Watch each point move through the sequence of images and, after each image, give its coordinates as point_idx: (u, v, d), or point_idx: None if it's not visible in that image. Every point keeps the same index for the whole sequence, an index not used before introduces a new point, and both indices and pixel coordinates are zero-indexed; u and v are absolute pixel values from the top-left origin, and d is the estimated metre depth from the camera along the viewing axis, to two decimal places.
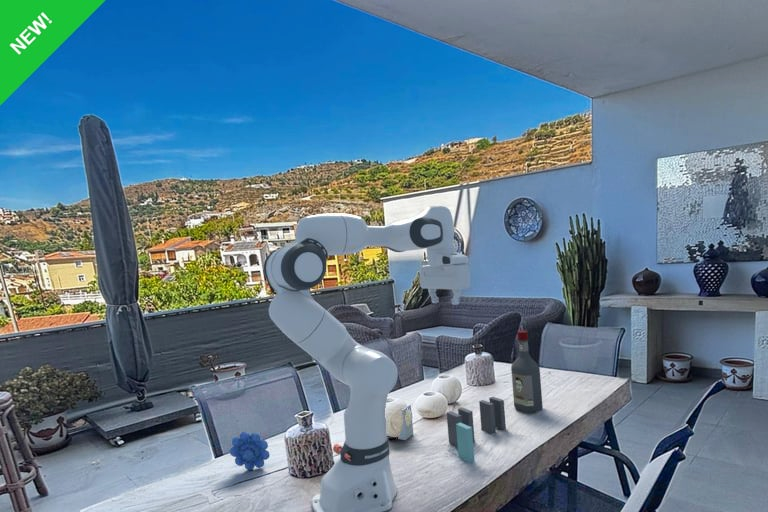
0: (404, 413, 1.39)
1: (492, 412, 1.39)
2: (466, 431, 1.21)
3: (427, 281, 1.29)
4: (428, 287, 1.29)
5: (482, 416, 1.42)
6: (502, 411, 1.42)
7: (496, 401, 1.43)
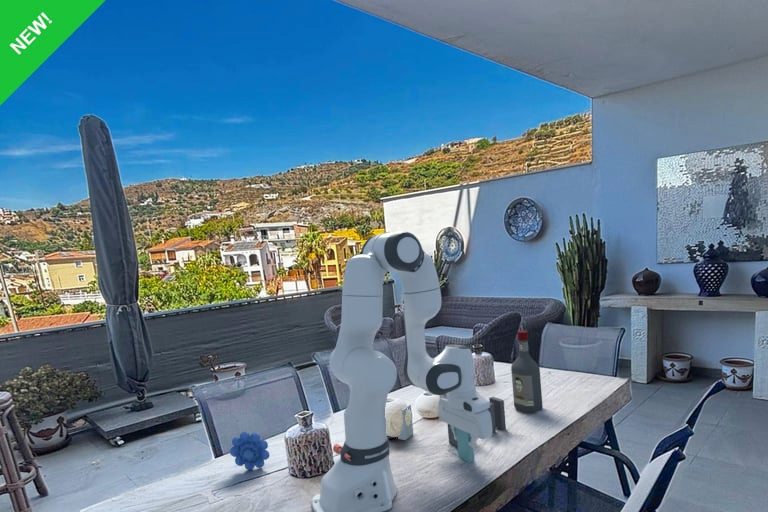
0: (404, 413, 1.39)
1: (492, 412, 1.39)
2: None
3: (447, 416, 1.27)
4: (447, 422, 1.27)
5: None
6: (502, 411, 1.42)
7: (496, 401, 1.43)
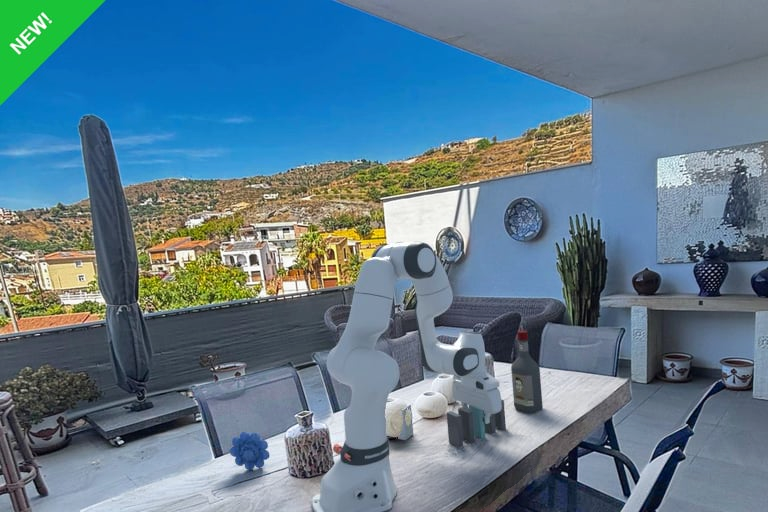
0: (404, 413, 1.39)
1: None
2: (478, 410, 1.36)
3: (460, 395, 1.42)
4: (461, 401, 1.42)
5: None
6: (502, 411, 1.42)
7: None
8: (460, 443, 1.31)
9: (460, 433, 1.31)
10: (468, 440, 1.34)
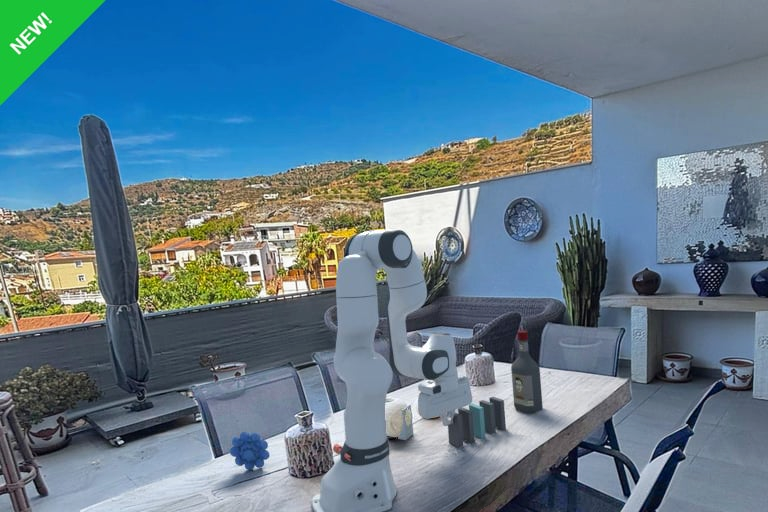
0: (404, 413, 1.39)
1: (492, 412, 1.39)
2: (478, 410, 1.36)
3: None
4: None
5: None
6: (502, 411, 1.42)
7: (496, 401, 1.43)
8: (460, 443, 1.31)
9: (460, 433, 1.31)
10: (468, 440, 1.34)
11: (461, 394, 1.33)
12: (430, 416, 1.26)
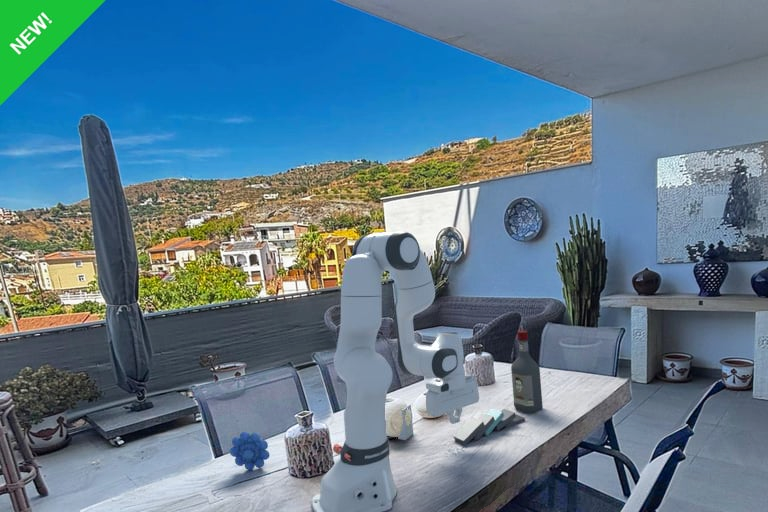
0: (404, 413, 1.39)
1: (510, 418, 1.44)
2: (499, 413, 1.42)
3: None
4: None
5: None
6: (518, 422, 1.46)
7: (520, 416, 1.49)
8: (466, 439, 1.32)
9: (473, 434, 1.34)
10: None
11: (468, 392, 1.35)
12: (438, 414, 1.28)
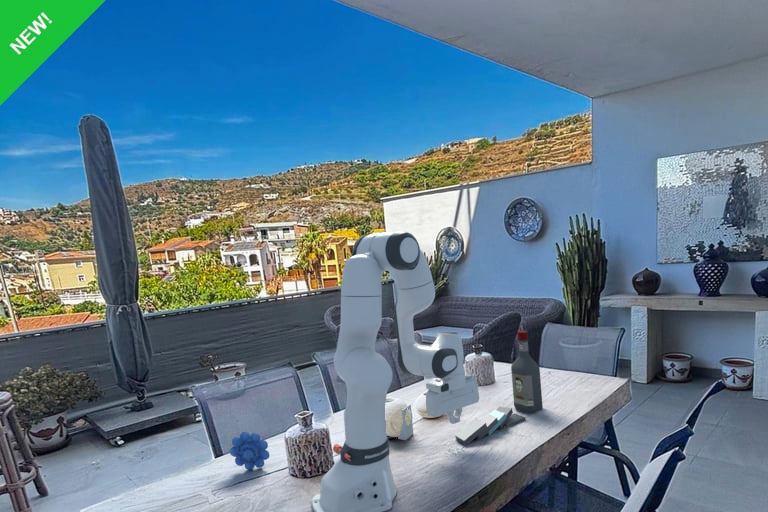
0: (404, 413, 1.39)
1: (509, 414, 1.47)
2: (502, 414, 1.43)
3: None
4: None
5: None
6: (518, 422, 1.46)
7: (520, 416, 1.49)
8: (467, 439, 1.32)
9: (474, 435, 1.34)
10: None
11: (468, 392, 1.35)
12: (438, 414, 1.28)
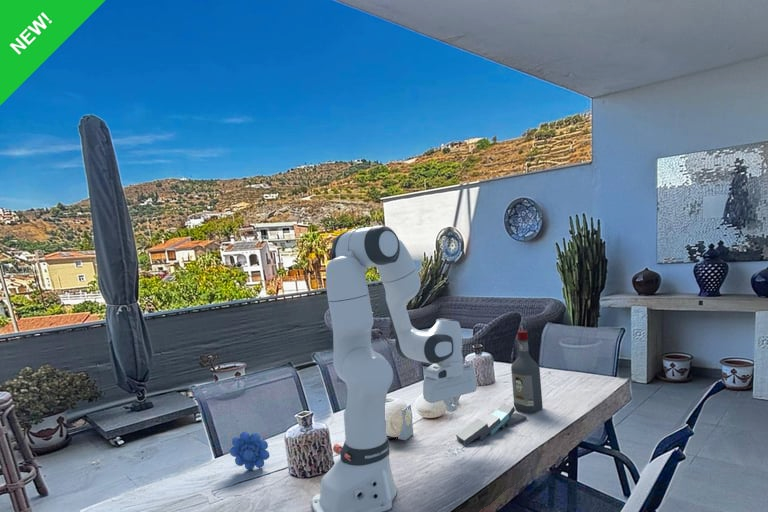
0: (404, 413, 1.39)
1: (511, 412, 1.47)
2: (505, 414, 1.43)
3: None
4: None
5: None
6: (520, 421, 1.47)
7: (521, 415, 1.50)
8: (467, 439, 1.32)
9: (475, 435, 1.34)
10: None
11: (466, 381, 1.34)
12: (435, 400, 1.27)
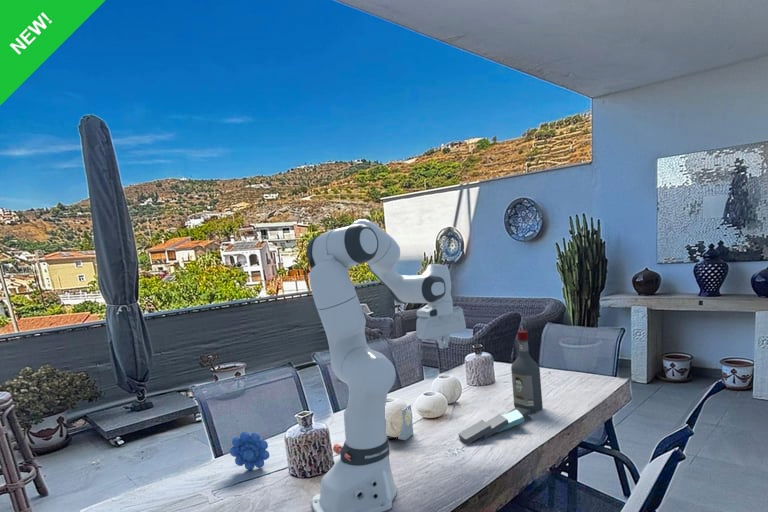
0: (404, 413, 1.39)
1: (526, 414, 1.49)
2: (520, 416, 1.41)
3: None
4: None
5: None
6: (524, 421, 1.47)
7: None
8: (469, 438, 1.33)
9: (477, 435, 1.34)
10: None
11: (455, 321, 1.47)
12: (427, 337, 1.39)
